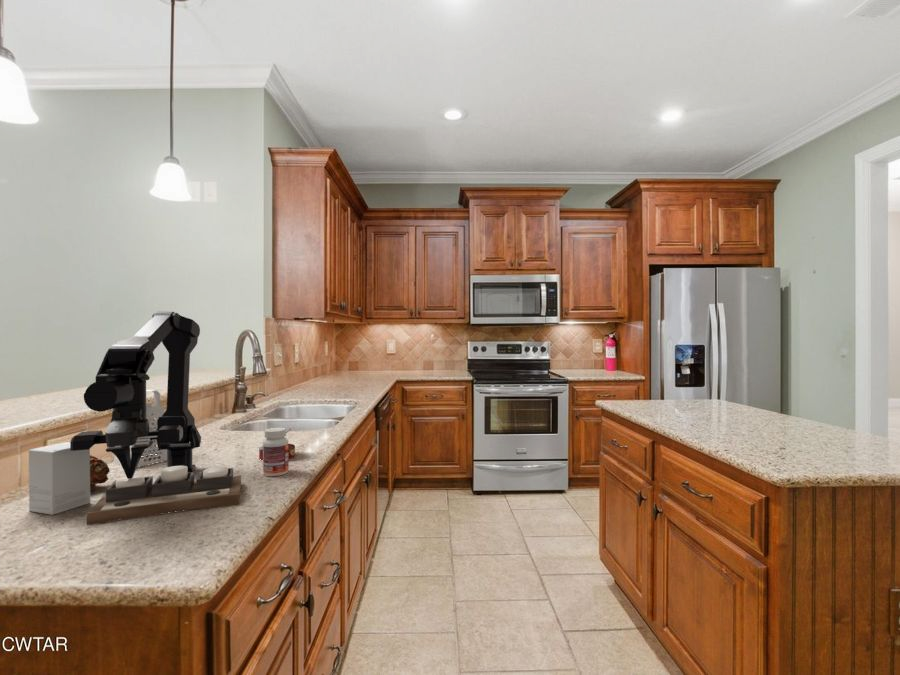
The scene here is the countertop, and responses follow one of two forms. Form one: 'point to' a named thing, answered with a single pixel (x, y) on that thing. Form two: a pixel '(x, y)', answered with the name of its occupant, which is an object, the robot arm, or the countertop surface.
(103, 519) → the button board
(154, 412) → the grater
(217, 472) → the button
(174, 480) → the button middle
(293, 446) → the canned food
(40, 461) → the supplement box
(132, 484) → the button
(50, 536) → the countertop surface
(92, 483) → the dragon fruit
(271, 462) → the pill bottle
